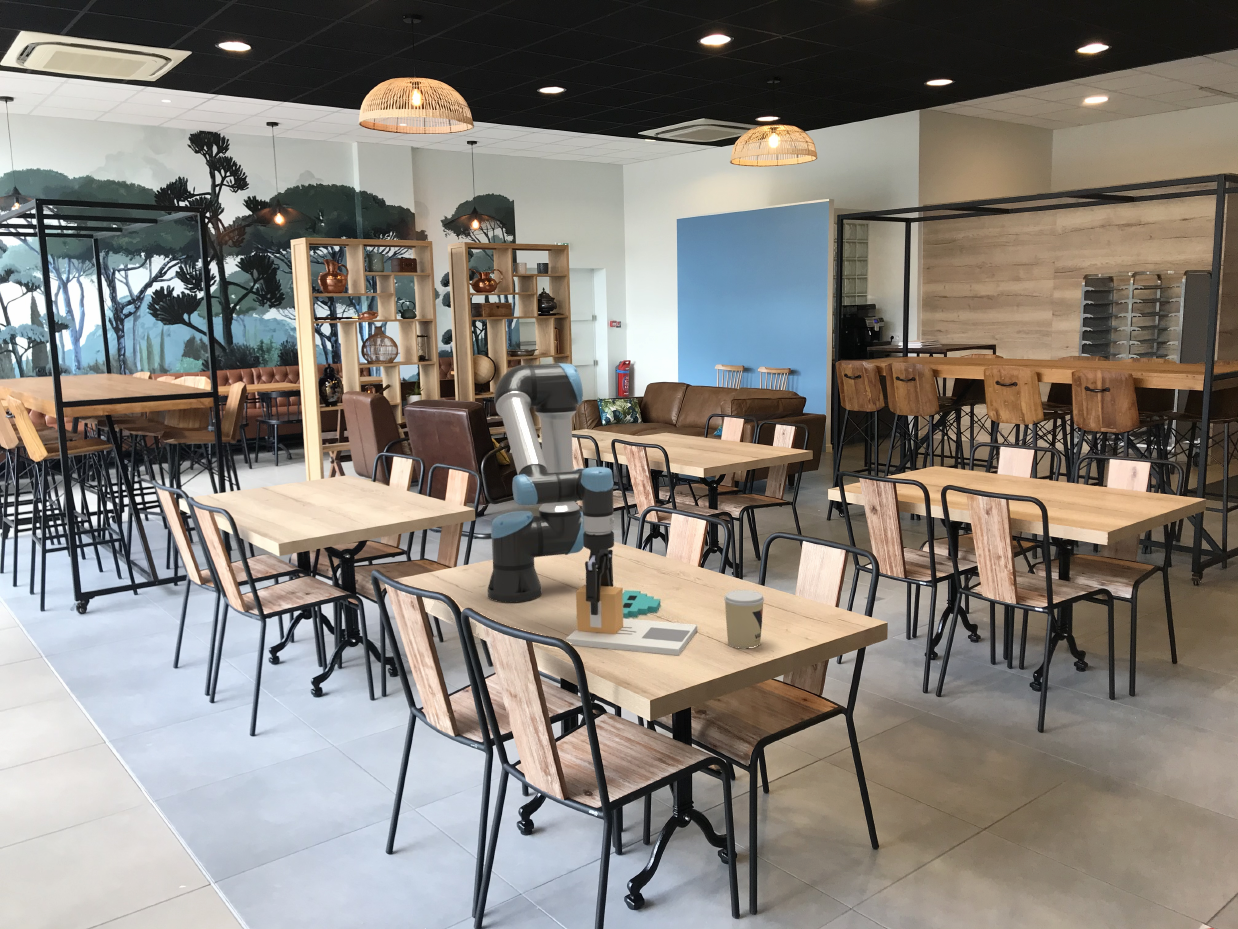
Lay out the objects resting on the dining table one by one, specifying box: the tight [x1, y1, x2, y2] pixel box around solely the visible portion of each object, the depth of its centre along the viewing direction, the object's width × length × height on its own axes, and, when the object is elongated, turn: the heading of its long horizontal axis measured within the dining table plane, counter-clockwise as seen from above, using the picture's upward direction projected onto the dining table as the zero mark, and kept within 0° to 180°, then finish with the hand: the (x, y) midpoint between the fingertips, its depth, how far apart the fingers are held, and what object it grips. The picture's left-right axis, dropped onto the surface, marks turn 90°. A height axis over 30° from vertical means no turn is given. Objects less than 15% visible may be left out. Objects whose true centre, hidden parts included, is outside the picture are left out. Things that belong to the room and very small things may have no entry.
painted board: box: [565, 618, 698, 656], centre depth 238 cm, size 28×18×2 cm, turn 72°
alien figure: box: [623, 589, 661, 619], centre depth 262 cm, size 20×2×20 cm
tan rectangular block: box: [575, 584, 624, 634], centre depth 240 cm, size 10×6×10 cm, turn 72°
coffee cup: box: [724, 589, 765, 649], centre depth 232 cm, size 9×9×12 cm
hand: (600, 622), depth 240 cm, fingers closed on tan rectangular block, 6 cm apart
